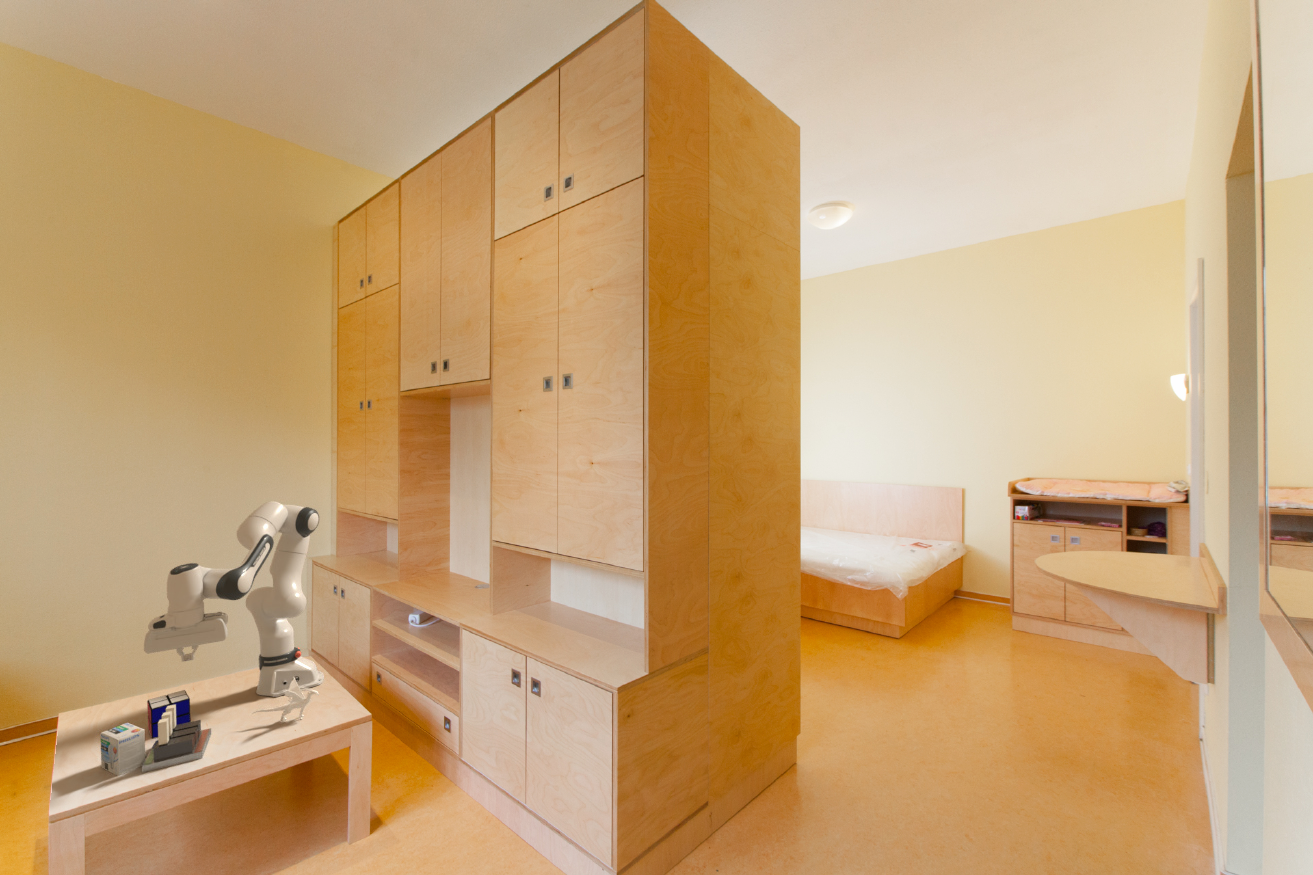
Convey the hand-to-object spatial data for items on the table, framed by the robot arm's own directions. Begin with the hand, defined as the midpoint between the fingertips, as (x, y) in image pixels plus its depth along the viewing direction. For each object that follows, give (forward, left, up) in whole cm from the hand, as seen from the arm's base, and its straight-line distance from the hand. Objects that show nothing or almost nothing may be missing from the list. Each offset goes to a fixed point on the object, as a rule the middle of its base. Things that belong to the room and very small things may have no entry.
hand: (188, 660), depth 178 cm
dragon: (-25, -5, -29) cm, 38 cm away
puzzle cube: (+9, -21, -29) cm, 37 cm away
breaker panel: (+3, 0, -29) cm, 29 cm away
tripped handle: (+6, 0, -22) cm, 23 cm away
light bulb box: (+16, 0, -29) cm, 33 cm away
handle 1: (+6, +5, -22) cm, 23 cm away
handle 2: (+6, -5, -22) cm, 23 cm away
